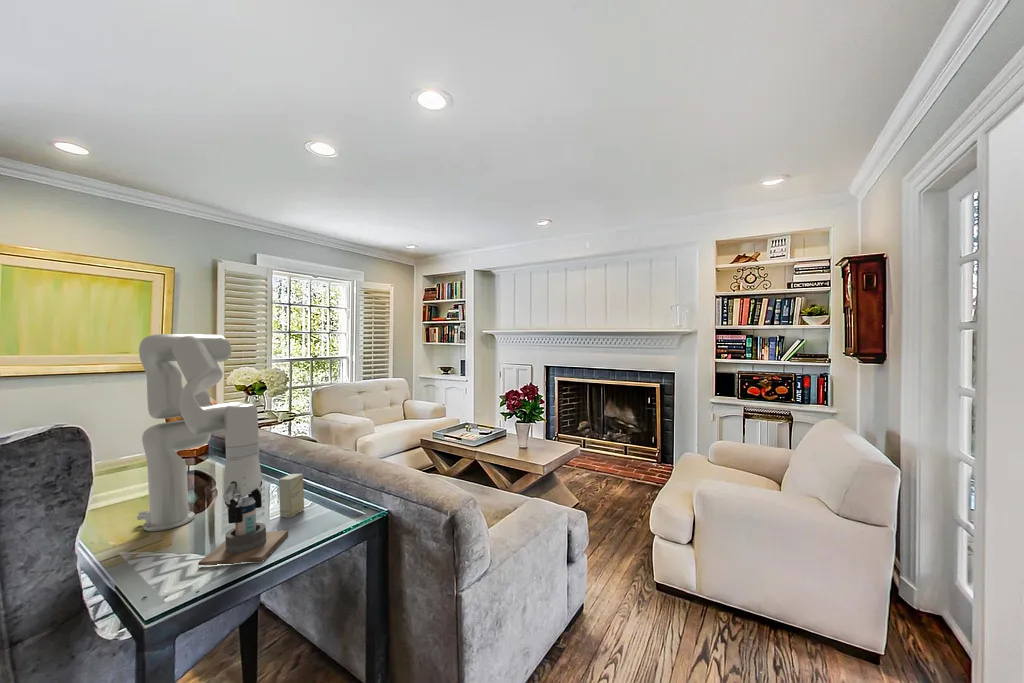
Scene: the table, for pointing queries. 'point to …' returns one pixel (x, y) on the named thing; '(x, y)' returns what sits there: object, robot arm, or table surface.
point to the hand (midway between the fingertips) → (246, 514)
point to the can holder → (245, 547)
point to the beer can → (247, 517)
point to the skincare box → (291, 495)
